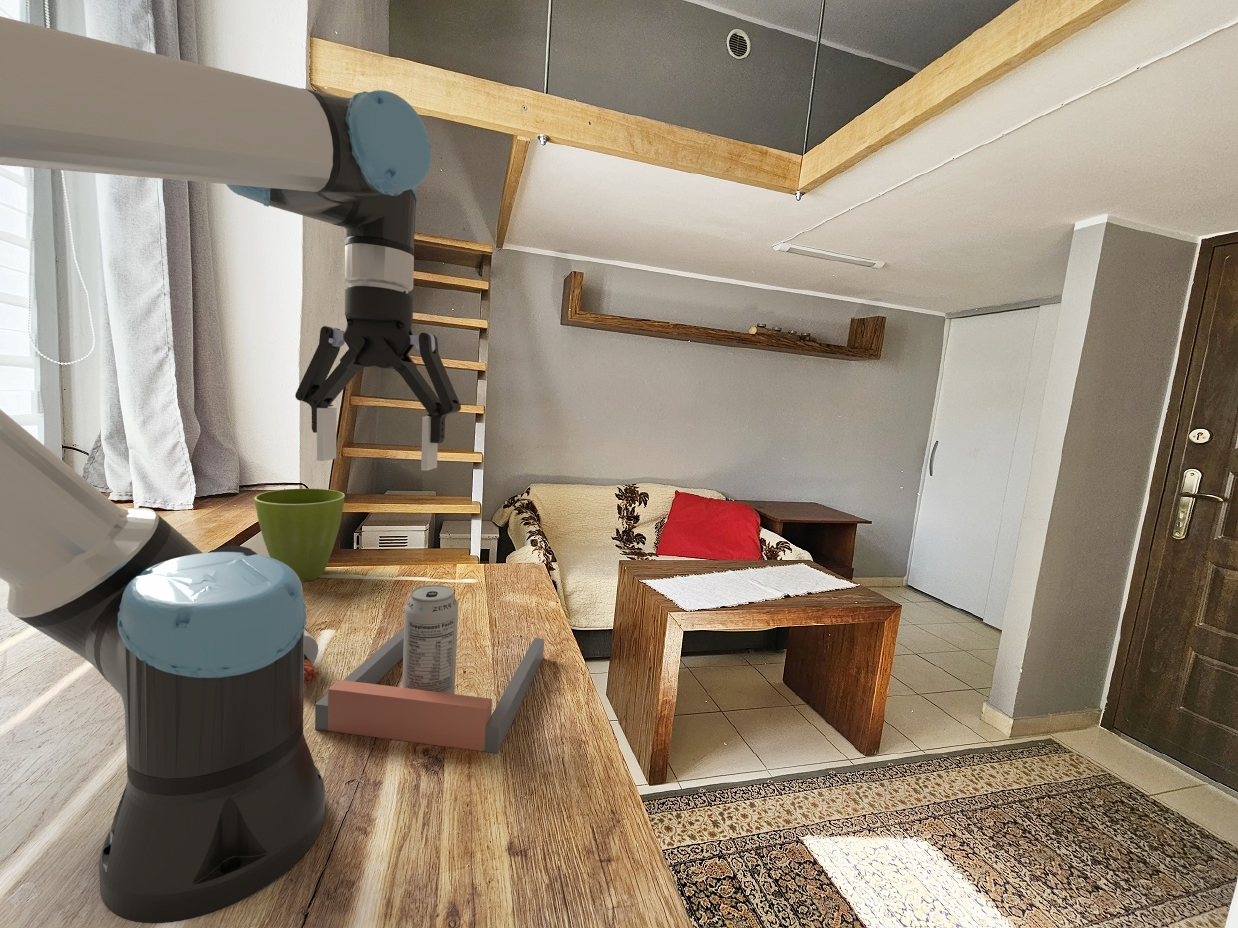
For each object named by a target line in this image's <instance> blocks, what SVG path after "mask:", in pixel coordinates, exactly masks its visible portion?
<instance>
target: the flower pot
mask: <svg viewBox="0 0 1238 928" xmlns="http://www.w3.org/2000/svg"><path fill="white" fill-rule="evenodd" d="M345 498H346V495H345V493H343V492H341V491H338V490H332V489H327V488H288V489H277V490H271V491H270V490H269V491H266V492H262V493H259V494H257V495H255V496H254V505H255V509H256V516H257V521H258V524H259V528H260V531H261V535H262V539H263V542H264V544H265V547H266V550H267V553H268V557H270V558H273V559H276V560H278V561H280V562H282V563H284V564H286V565H288V566H289V567H290V568H291V569H292V570H293V571H294V572H295V573H296V574H297V575H298V577H299V579H300V581H301V583H302V582H308V581H313V580H316V579H318V578H320V577H321V576H323V575H324V572H325V570H326V568H327V566H328V562H329V561H330V558H331V555H332V552H333V550H334V547H335V543H336V540H337V536H338V533H339V529H340V526H341V525H340V524H341V520H342V515H343V511H344V510H343V509H344V504H345Z"/></svg>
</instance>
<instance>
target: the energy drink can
mask: <svg viewBox="0 0 1238 928" xmlns="http://www.w3.org/2000/svg"><path fill="white" fill-rule="evenodd" d="M454 594H455V591H454V589H453V588H451V587H450V586H446V585H444V584H443V585H442V584H441V585H440V584H430V585H429V584H427V585H422V586H419V587H416V588H414V589H412V590H411V592H410V597H409V599H408V600H407V602H406V604H405V606H404V618H403V619H404V621H403V622H404V623H403V626H404V627H403V628H404V649H403V658H402V680H401V681H402V685H401V686H402V687H401V688H409V689H417V690H426V691H434V692H442V693H450V694H456V693H455V689H456V672H457V671H456V667H457V648H458V645H457V643H458V623H459V603H458V599H456V597H455V596H454Z"/></svg>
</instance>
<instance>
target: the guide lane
mask: <svg viewBox="0 0 1238 928" xmlns="http://www.w3.org/2000/svg"><path fill="white" fill-rule="evenodd" d="M403 649H404V627H403V628H401V629H400V630H399V631H398V632H397V633H395V634H394V635H393V636H392V637H391V638H389V640H387V641H386V642H385V643H384V644H383V645H382V646H380V648H378V649H377V650H376V651H375V652H374V653H372V654H371V655H370V656H369V657H367V659H365V660H364V661H363V662H361V664H360V665H358V667H356V668H355V669H353V671H352V672H351V673H349V674H348V675H347V676H346V677H345V678H344V679H338V680H337V681H336V682H335V683H333V684H332V685H331V686H330V687H329V688H328V690H327V694H325V695H324V696H323V697H322V698H321V699H320V700H318V701H317V702H316V703H314V704H315V706H314V730H319V731H328V732H334V733H341V734H342V733H343V734H350V735H357V736H363V737H372V738H373V737H374V738H380V739H387V740H395V741H403V742H408V743H409V742H411V743H417V744H426V745H434V746H440V747H446V748H447V747H448V748H455V749H463V750H471V751H479V752H483V753H484V752H486V753H493V754H498V753H499V751H500V749H501V747H502V745H503V743H504V741H505V739H506V736H508V735H507V734H508V732H509V731H510V728H511V726H512V723H513V722H514V720H515V718H516V716H517V714H518V711H519V710H520V707H521V705H522V703H523V701H524V699H525V697H526V695H527V693H528V691H529V689H530V686H531V684H532V682H533V681H534V678H535V676H536V674H537V673H538V670H539V668H540V665H541V663H542V661H543V660H544V651H545V650H544V649H545V638H539V637H534V638H533V639H532V642H531V643H530V645H529V647H528V648H527V651H526V652H525V654H524V655H523V658H522V660H521V661H520V663H519V665H518V667H517V668H516V670H515V672H514V674H513V675H512V677H511V680H510V681H509V683H508V685H507V686H506V688H505V690H504V692H503V694H502V695H501V697H500V699H499V701H498V702H497V705H496V706H495V708H494V710H493V698H488V697H479V696H474V695H467V694H466V695H464V694H457V693H455V694H450V693H442V692H434V691H426V690H417V689H409V688H402V687H400V686H392V685H384V684H377V683H379V681H381V679H383V678H384V676H385V675H387V674H388V672H390V670H392V669H393V668H394V667H395V666H396V665H397V664H398V663H399V662H400V661H401V660H403ZM492 710H493V712H492Z"/></svg>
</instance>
